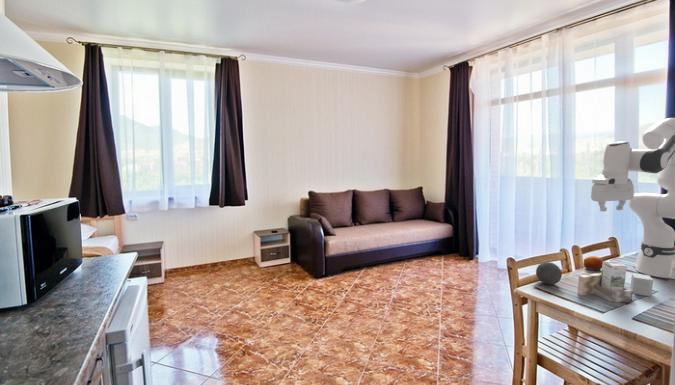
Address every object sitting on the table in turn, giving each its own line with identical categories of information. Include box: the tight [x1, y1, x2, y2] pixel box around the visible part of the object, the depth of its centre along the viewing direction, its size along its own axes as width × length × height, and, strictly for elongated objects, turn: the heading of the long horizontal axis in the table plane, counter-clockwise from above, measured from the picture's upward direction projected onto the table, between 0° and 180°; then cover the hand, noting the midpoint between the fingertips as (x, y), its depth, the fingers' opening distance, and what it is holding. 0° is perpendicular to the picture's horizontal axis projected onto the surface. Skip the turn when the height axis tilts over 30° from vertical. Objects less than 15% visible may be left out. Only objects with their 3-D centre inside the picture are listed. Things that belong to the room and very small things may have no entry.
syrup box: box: [600, 260, 628, 292], centre depth 142 cm, size 6×6×14 cm
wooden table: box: [577, 272, 633, 304], centre depth 143 cm, size 22×11×8 cm, turn 105°
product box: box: [629, 272, 654, 297], centre depth 146 cm, size 6×6×7 cm
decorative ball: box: [535, 261, 563, 286], centre depth 156 cm, size 10×10×10 cm
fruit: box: [583, 255, 604, 272], centre depth 173 cm, size 8×8×8 cm
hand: (611, 210), depth 150 cm, fingers open, 8 cm apart
